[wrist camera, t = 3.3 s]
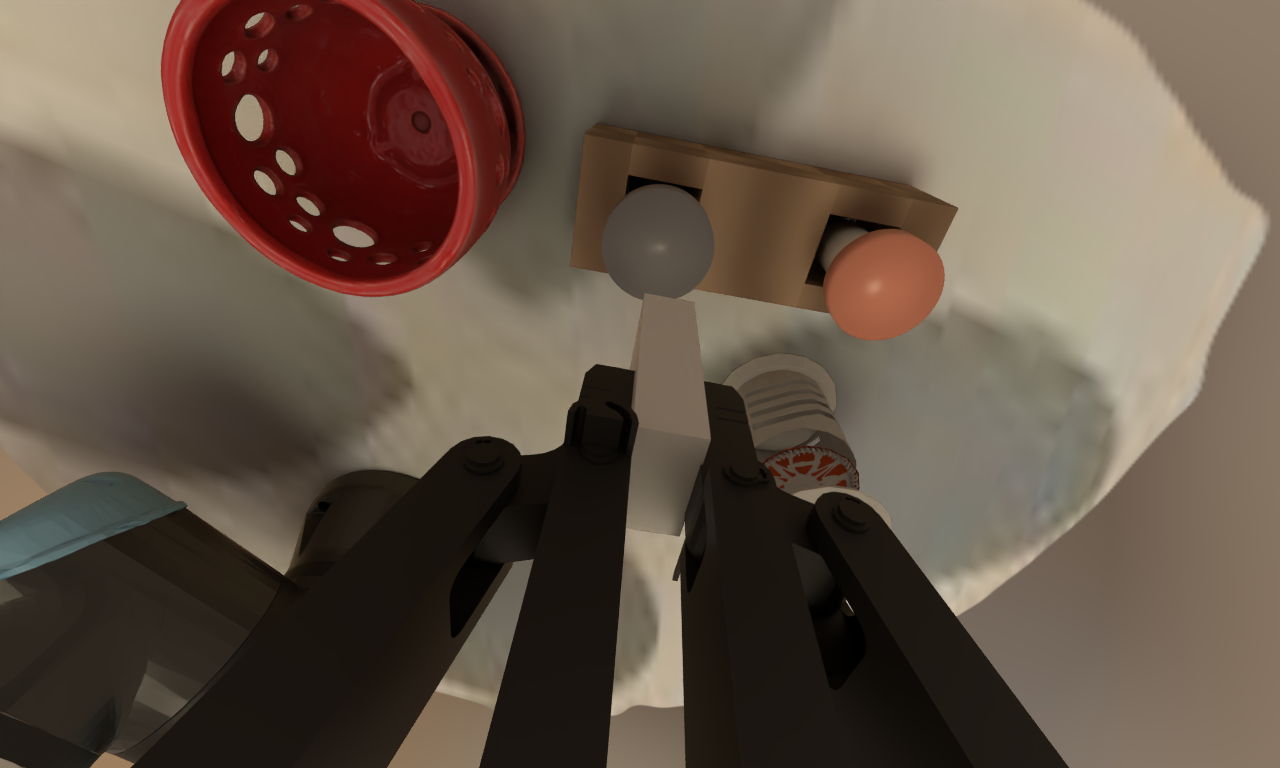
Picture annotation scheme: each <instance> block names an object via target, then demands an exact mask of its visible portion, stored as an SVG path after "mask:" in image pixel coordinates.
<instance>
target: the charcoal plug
mask: <svg viewBox="0 0 1280 768" xmlns="http://www.w3.org/2000/svg"><path fill="white" fill-rule="evenodd" d="M714 247H715V243H714V234H713V230H712V227H711V223H710V221H709V218H708V215H707V213H706V212H705V210H704V208H703V207H702V205H701V204H700V203H699V202H698V201H697V200H696V199H695V198H694V197H693V196H692V195H690V194H689V193H687V192H686V191H684V190H682V189H680V188H678V187H675V186H671V185H665V184H652V185H646V186H643V187H639V188H637V189H635V190H633V191H631V192H630V193H628V194H626V195H625V196H624V197H623V198H622V199H620V201H619V202H618V203H617V204H616V205H615V206H614V208H613V209H612V211H611V213H610V215H609V217H608V219H607V222H606V225H605V228H604V231H603V235H602V243H601V249H602V257H603V261H604V264H605V267H606V269H607V271H608V273H609V275H610V276H611V278H612V279H613V281H614V282H615V283H616V284H617V285H618V286H619V287H620V288H621V289H622V290H624V291H625V292H627V293H628V294H630V295H632V296H634V297H636V298H639V299H642V300H643V299H644V294H645V293H647V294H653V295H658V296H664V297H669V298H674V299H676V298H679V297H681V296H683V295H685V294H687V293H689V292H690V291H691V290H693V289H694V288H695V287H696V286H697V285H698V284H699V283H700V282H701V281H702V280H703V279H704V277H705V276H706V274H707V272H708V270H709V268H710V266H711V263H712V260H713V256H714Z"/></svg>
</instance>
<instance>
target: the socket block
mask: <svg viewBox="0 0 1280 768" xmlns="http://www.w3.org/2000/svg"><path fill="white" fill-rule="evenodd" d="M631 175H632V176H637V177H642V178H647V179H653V180H658V181H663V182H668V183H673V184H678V185H684V186H689V187H692V191H691V195H692V196H693V197H694V198H695V199H696V200H697V201H698V202H699V203H700V204H701V205H702V207H703V208H704V210H705V212H706V213H707V215H708V218H709V221H710V223H711V227H712V230H713V234H714V243H715V247H714V256H713V260H712V263H711V266H710V268H709V270H708V272H707V274H706V276H705V277H704V279H703V280H702V281H701V282H700V283H699V284H698V285H697V286H696V287H695V288H694V289H697V290H703V291H708V292H714V293H719V294H725V295H730V296H736V297H741V298H747V299H752V300H758V301H764V302H769V303H775V304H780V305H786V306H791V307H797V308H802V309H808V310H813V311H819V312H824V313H829V311H828V310H827V308H826V305H825V302H824V299H823V283H824V278H825V275H826V271H825V270H824V269H823V267H822V266H821V265H820V264H819V263H818V261H817V259H816V258H814V256H815V254H816V251H817V248H818V245H819V243H820V240H821V237H822V234H823V232H824V229H825V226H826V224H827V221H828V218H829V215H830V214H833V215H838V216H843V217H849V218H854V219H857V220H856V223H857V224H859V225H860V226H862V227H863V228H864V229H865V230H867V231H868V232H873V231H876V230H882V229H898V230H903V231H907V232H909V233H911V234H913V235H915V236H916V237H918V238H919V239H921V240H923V241H924V242H926V243H927V244H929V245H930V246H931V247H932V248H933V249H934V250H935V251H936V252H937V251H938V249H939V247H940V245H941V243H942V241H943V239H944V236H945V234H946V232H947V230H948V228H949V226H950V224H951V222H952V220H953V218H954V216H955V214H956V212H957V210H958V208H957V207H955V206H953V205H951V204H949V203H946V202H944V201H942V200H940V199H938V198H936V197H934V196H931V195H929V194H927V193H925V192H923V191H921V190H919V189H917V188H914V187H912V186H909V185H904V184H899V183H894V182H889V181H884V180H879V179H874V178H869V177H864V176H859V175H854V174H849V173H844V172H839V171H834V170H829V169H824V168H819V167H814V166H809V165H804V164H799V163H794V162H789V161H784V160H779V159H774V158H769V157H764V156H759V155H754V154H749V153H744V152H739V151H734V150H729V149H724V148H719V147H714V146H709V145H704V144H699V143H694V142H689V141H684V140H679V139H673V138H668V137H663V136H658V135H653V134H648V133H643V132H638V131H633V130H628V129H623V128H618V127H613V126H608V125H603V124H598V123H597V124H595V125H594V126H593V127H592V128H591V129H590V130H588V131H587V132H586V133H585V134H584V140H583V149H582V159H581V168H580V178H579V187H578V197H577V206H576V216H575V225H574V235H573V244H572V254H571V263H570V266H571V267H576V268H582V269H587V270H593V271H598V272H604V273H608V271H607V269H606V267H605V264H604V261H603V257H602V249H601V243H602V235H603V231H604V228H605V225H606V222H607V219H608V217H609V215H610V213H611V211H612V209H613V208H614V206H615V205H616V204H617V203H618V202H619V201H620V199H622V198H623V197H624V196H625V195H626V194H628V190H629V183H630V177H631Z"/></svg>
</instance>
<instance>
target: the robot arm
mask: <svg viewBox="0 0 1280 768" xmlns="http://www.w3.org/2000/svg"><path fill="white" fill-rule="evenodd" d="M748 424H749V421H748V417H747V414H746V409H745V404H744V400H743V398H742V397H741V396H740V395H739V393H738V392H737V391H736V390H735V389H734V387H733V386H727V385H721V384H716V383H710V382H704V379H703V371H702V363H701V354H700V346H699V338H698V330H697V322H696V314H695V306H694V302H691V301H685V300H680V299H674V298H669V297H664V296H658V295H653V294H647V293H645V294H644V299H643V304H642V309H641V315H640V320H639V325H638V330H637V335H636V340H635V345H634V351H633V356H632V361H631V366H630V370H627V369H622V368H616V367H610V366H605V365H599V364H596V365H595V366H593V367H592V368H591V369H590V370H589V371H587V372H586V373H585V377H584V381H583V385H582V388H581V392H580V397H579V400H578V401H577V402H575V403H573V404H572V406H571V407H570V409H569V410H568V415H567V423H566V431H565V439H564V443H563V444H562V445H561V446H560V447H558V448H556V449H555V450H552V451H549V452H546V453H542V454H535V455H520V452H519V451H518V449H517V448H516V447H515V446H514V445H513V444H511V443H509V442H508V441H506V440H504V439H501V438H495V437H490V436H484V437H473V438H470V439H467V440H464V441H461V442H459V443H458V444H456V445H455V446H454V447H452V448H451V449H450V450H449V451H448V452H447V453H446V454H445V455H444V456H443V457H442V458H441V459H440V460H439V461H438V462H437V463H436V464H435V465H434V466H433V467H432V468H431V469H430V470H429V471H428V472H427V473H426V474H425V475H424V476H423V477H422V478H421V479H420V480H416V479H414V478H411V477H408V476H404V475H400V474H396V473H391V472H383V471H361V472H355V473H350V474H347V475H344V476H341V477H339V478H337V479H335V480H334V481H332V482H331V483H329V484H328V485H327V486H326V487H325V488H324V489H323V491H322V492H321V493H320V494H319V496H318V497H317V498H316V499H315V501H314V502H313V503H312V504H311V506H310V508H309V509H308V511H307V513H306V516H305V519H304V522H303V525H302V528H301V532H300V535H299V538H298V541H297V544H296V547H295V551H294V554H293V557H292V560H291V563H290V567H289V569H288V571H287V572H286V573H285V575H282V574H281V573H280V572H278V571H277V570H275V569H274V568H272V567H271V566H269V565H268V564H267V563H265V562H264V561H262V560H261V559H259V558H258V557H256V556H255V555H253V554H252V553H251V552H249V551H248V550H246V549H245V548H243V547H242V546H240V545H239V544H237V543H236V542H234V541H233V540H232V539H230V538H229V537H227V536H226V535H224V534H223V533H221V532H220V531H218V530H217V529H216V528H214V527H213V526H211V525H210V524H208V523H207V522H205V521H204V520H202V519H201V518H200V517H198V516H197V515H195V514H194V513H192V512H191V511H189V510H188V509H186V507H187V506H188V505H187V504H186V503H184V502H183V501H174V500H173V499H171V498H169V497H168V496H166V495H164V494H163V493H161V492H160V491H158V490H156V489H155V488H153V487H151V486H150V485H148V484H146V483H145V482H143V481H141V480H140V479H138V478H136V477H134V476H132V475H129V474H126V473H121V472H102V473H96V474H93V475H89V476H86V477H84V478H81V479H79V480H77V481H75V482H73V483H71V484H69V485H67V486H65V487H63V488H61V489H59V490H57V491H55V492H53V493H51V494H49V495H47V496H45V497H43V498H41V499H40V500H38V501H36V502H34V503H32V504H30V505H29V506H27V507H25V508H23V509H21V510H19V511H17V512H16V513H14V514H12V515H10V516H8V517H7V518H5V519H3V520H1V521H0V768H90V767H91V766H92V764H93V763H94V762H95V761H96V760H97V759H98V758H99V757H100V756H101V755H102V754H103V753H104V752H107V753H110V754H113V755H116V756H118V757H120V758H123V759H125V760H127V761H130V762H132V763H134V765H133V766H132V767H131V768H387V767H388V765H389V764H390V762H391V760H392V759H393V757H394V755H395V754H396V752H397V751H398V749H399V747H400V746H401V744H402V743H403V741H404V739H405V738H406V736H407V735H408V733H409V731H410V730H411V728H412V727H413V725H414V723H415V722H416V720H417V718H418V717H419V715H420V713H421V712H422V710H423V709H424V707H425V706H426V704H427V702H428V701H429V699H430V698H431V696H432V694H433V693H434V691H435V690H436V688H437V686H438V685H439V683H440V681H441V680H442V678H443V677H444V675H445V673H446V672H447V670H448V669H449V667H450V665H451V664H452V662H453V661H454V659H455V657H456V656H457V654H458V653H459V651H460V649H461V648H462V646H463V644H464V643H465V641H466V640H467V638H468V636H469V635H470V633H471V632H472V630H473V628H474V627H475V625H476V624H477V622H478V620H479V619H480V617H481V615H482V614H483V612H484V611H485V609H486V607H487V606H488V604H489V603H490V601H491V599H492V598H493V596H494V595H495V593H496V591H497V590H498V588H499V587H500V585H501V583H502V582H503V580H504V578H505V577H506V575H507V574H508V572H509V570H510V569H511V567H512V564H513V562H516V561H523V560H531V559H534V561H533V565H532V568H531V572H530V576H529V580H528V584H527V588H526V591H525V595H524V599H523V603H522V607H521V610H520V614H519V618H518V622H517V626H516V630H515V633H514V637H513V641H512V645H511V649H510V652H509V656H508V660H507V664H506V668H505V671H504V675H503V679H502V683H501V687H500V691H499V694H498V698H497V702H496V706H495V710H494V713H493V717H492V721H491V725H490V729H489V732H488V736H487V740H486V744H485V748H484V752H483V755H482V759H481V763H480V767H479V768H606V766H607V754H608V741H609V728H610V717H611V705H612V692H613V680H614V668H615V655H616V643H617V631H618V618H619V606H620V594H621V581H622V569H623V557H624V544H625V532H626V528H629V529H635V530H641V531H648V532H654V533H661V534H667V535H673V536H680V534H681V531H682V528H683V524H684V521H685V536H686V538H685V541H684V544H683V547H682V550H681V553H680V556H679V559H678V562H677V565H676V568H675V571H674V575H673V579H672V580H673V581H678V578H679V575H680V576H681V613H682V650H683V687H684V722H685V723H684V724H685V756H686V757H685V761H686V768H1069V767H1068V766H1067V764H1066V763H1065V762H1064V760H1063V759H1062V758H1061V756H1060V755H1059V754H1058V752H1057V751H1056V750H1055V748H1054V747H1053V746H1052V744H1051V743H1050V742H1049V741H1048V739H1047V738H1046V736H1045V735H1044V734H1043V732H1042V731H1041V730H1040V728H1039V727H1038V726H1037V724H1036V723H1035V722H1034V720H1033V719H1032V718H1031V716H1030V715H1029V714H1028V712H1027V711H1026V709H1025V708H1024V707H1023V706H1022V704H1021V703H1020V702H1019V700H1018V699H1017V698H1016V696H1015V695H1014V694H1013V692H1012V691H1011V689H1010V688H1009V687H1008V685H1007V684H1006V683H1005V681H1004V680H1003V679H1002V677H1001V676H1000V675H999V674H998V672H997V671H996V669H995V668H994V667H993V666H992V664H991V663H990V661H989V660H988V659H987V657H986V656H985V655H984V653H983V652H982V651H981V649H980V648H979V647H978V645H977V644H976V643H975V641H974V640H973V639H972V637H971V636H970V635H969V633H968V632H967V631H966V629H965V628H964V627H963V625H962V624H961V623H960V622H959V620H958V619H957V617H956V616H955V615H954V613H953V612H952V611H951V609H950V608H949V607H948V605H947V604H946V603H945V601H944V600H943V599H942V597H941V596H940V595H939V593H938V592H937V591H936V589H935V588H934V587H933V585H932V584H931V583H930V581H929V580H928V579H927V577H926V576H925V575H924V573H923V572H922V571H921V569H920V568H919V567H918V565H917V564H916V563H915V561H914V560H913V559H912V557H911V556H910V555H909V553H908V552H907V551H906V549H905V548H904V547H903V545H902V544H901V543H900V541H899V540H898V539H897V537H896V536H895V535H894V533H893V532H892V531H891V529H890V528H889V527H888V525H887V524H886V523H885V521H884V520H883V519H882V517H881V516H880V515H879V514H878V513H877V512H876V511H875V510H874V509H873V508H872V507H871V506H870V505H868V504H867V503H865V502H864V501H862V500H861V499H859V498H857V497H854V496H852V495H849V494H847V493H841V492H834V491H833V492H828V493H823V494H822V495H821V496H820V497H819V498H818V499H817V500H816V502H815V504H813V503H811V502H808V501H806V500H803V499H801V498H798V497H796V496H793V495H791V494H789V493H787V492H785V491H783V490H781V489H780V488H778V487H777V485H776V481H775V479H774V477H773V475H772V473H771V471H770V470H769V469H768V468H767V467H766V466H765V465H764V464H763V463H761V462H760V461H758V460H757V456H756V451H755V447H754V443H753V439H752V434H751V430H750V426H749V425H748ZM846 600H847V601H848V603H849V605H850V606H851V608H852V610H853V611H852V610H851V609H850V607H849V606H848V604H847V602H846Z"/></svg>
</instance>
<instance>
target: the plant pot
mask: <svg viewBox="0 0 1280 768" xmlns="http://www.w3.org/2000/svg"><path fill="white" fill-rule="evenodd" d="M296 5H299V6H298V7H294V6H296ZM292 7H294V8H292ZM263 12H265V13H264V15H263V17H262V19H261V20H260V21H259V22H258V23H257V24H255V25H254V26H252V27H250V28H247V29H246V28H245V25H246V24H247V22H248V20H249V19H250V18H251V17H252V16H254V15H256V14H258V13H263ZM267 49H268V55H267V57H266V60H265V61H264V62H263V63H261V64H259V65H258V58H259V56H260V55H261V53H262V52H263V51H264V50H267ZM232 51H234V55H235V59H234V64H233V66H232V69H231V71H230V72H229V73H228V74H227V75H226V76H222V62H223V60H224V58H225V56H226V55H227V54H229V53H230V52H232ZM161 79H162V88H163V95H164V102H165V106H166V111H167V115H168V119H169V122H170V125H171V129H172V132H173V134H174V137H175V140H176V142H177V145H178V147H179V150H180V152H181V154H182V156H183V158H184V160H185V162H186V164H187V166H188V168H189V170H190V171H191V173H192V175H193V177H194V178H195V180H196V182H197V183H198V185H199V187H200V188H201V190H202V191H203V192H204V194H205V195H206V197H207V198H208V199H209V201H210V202H211V203H212V204H213V206H214V207H215V208H216V209H217V210H218V212H219V213H220V214H221V215H222V216H223V217H224V218H225V219H226V220H227V221H228V222H229V224H230V225H231V226H232V227H233V228H234V229H235V230H236V231H237V232H238V233H239V234H240V235H241V236H242V237H243V238H244V239H245V240H246V241H247V242H248V243H249V244H251V245H252V246H253V247H254V248H255V249H257V250H258V251H259V252H260V253H262V254H263V255H264V256H266V257H267V258H268V259H270V260H271V261H273V262H274V263H276V264H277V265H279V266H281V267H282V268H284V269H285V270H287V271H289V272H290V273H292V274H294V275H296V276H298V277H300V278H302V279H304V280H306V281H308V282H311V283H313V284H316V285H318V286H320V287H323V288H326V289H330V290H333V291H336V292H339V293H343V294H349V295H356V296H363V297H381V296H392V295H398V294H402V293H406V292H409V291H412V290H415V289H418V288H420V287H422V286H424V285H426V284H428V283H430V282H431V281H433V280H434V279H436V278H437V277H439V276H440V275H442V274H443V273H444V272H445V271H447V270H448V269H449V268H450V267H452V266H453V265H454V264H455V263H456V262H457V261H459V260H460V259H461V258H462V257H463V256H464V255H465V254H466V253H467V252H468V251H469V249H470V248H471V247H472V246H473V245H474V244H475V243H476V241H477V240H478V239H479V238H480V237H481V236H482V234H483V233H484V232H485V231H486V230H487V228H488V227H489V225H490V224H491V222H492V220H493V218H494V216H495V214H496V213H497V211H498V209H499V206H500V204H501V203H502V202H503V201H504V200H505V199H506V198H507V196H508V195H509V193H510V192H511V191H512V189H513V187H514V185H515V183H516V181H517V179H518V176H519V174H520V171H521V167H522V164H523V159H524V151H525V126H524V117H523V112H522V108H521V103H520V100H519V97H518V94H517V91H516V89H515V87H514V84H513V82H512V80H511V78H510V76H509V74H508V73H507V71H506V69H505V67H504V66H503V64H502V63H501V61H500V60H499V58H498V57H497V55H496V54H495V53H494V52H493V50H492V49H491V48H490V47H489V45H488V44H487V43H486V42H485V41H484V40H483V39H482V38H481V37H480V36H479V35H478V34H477V33H476V32H474V31H473V30H472V29H471V28H470V27H469V26H467V25H466V24H464V23H463V22H462V21H460V20H459V19H457V18H455V17H454V16H452V15H450V14H448V13H447V12H445V11H443V10H441V9H438V8H435V7H432V6H429V5H426V4H422V3H417V2H415V1H414V0H181V2H180V3H179V5H178V6H177V8H176V10H175V12H174V14H173V16H172V19H171V21H170V23H169V26H168V29H167V33H166V36H165V40H164V45H163V52H162V59H161ZM247 94H250V95H253V96H254V97H255V98H256V99H257V100H258V102H259V104H260V106H261V109H262V112H263V119H264V121H263V130H262V133H261V135H260V137H259V138H258V139H257V140H255V141H247V140H246V139H245V138H244V137H243V136H242V135H241V134H240V132H239V131H238V129H237V126H236V122H235V112H236V108H237V106H238V104H239V103H240V101H241V99H242V97H243V96H244V95H247ZM277 150H282V151H285V152H286V153H287V154H288V155H289V156H290V157H291V158H292V160H293V162H294V164H295V166H296V173H295V174H294V175H289V174H287V173H286V172H284V171H283V170H282V169H281V167H280V166H279V164H278V163H277V161H276V151H277ZM256 170H258V171H261V172H263V173H265V174H266V175H268V176H269V178H270V179H271V180H272V181H273V183H274V185H275V188H276V194H275V195H271V194H268V193H267V192H265V191H264V190H263V189H262V188H261V187H260V186H259V185H258V183H257V182H256V180H255V178H254V172H255V171H256ZM297 197H304V198H306V199H308V200H310V201H311V202H312V203H314V205H315V206H316V207H317V208H318V210H319V211H320V215H319V216H313V215H311V214H309V213H308V212H306V211H305V210H304V209H303V208H302V207H301V206H300V205H299V203H298V202H297V199H296V198H297ZM289 220H290V221H295V222H297V223H299V224H300V225H302V226H303V227H304V228H305V229H306V230H307V232H304V231H301V230H298V229H297V228H295V227H294V226H293V225H292V224H291V223H290V221H289ZM338 226H349V227H353V228H356V229H358V230H360V231H362V232H364V233H366V234H367V235H369V236H370V237H371V238H372V239H373V241H374V243H375V244H373V245H372V246H369V247H354V246H350V245H348V244H346V243H344V242H342V241H340V240H339V239H338V238H337V237H336V236H335V235H334V232H333V229H334V228H335V227H338ZM426 249H427V250H426ZM422 250H426V251H422ZM420 251H422V252H420ZM332 257H340V258H343V259H345V260H347V261H339V260H336V259H333V258H332ZM381 262H386V263H390V264H386V265H379V264H376V263H381Z"/></svg>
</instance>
